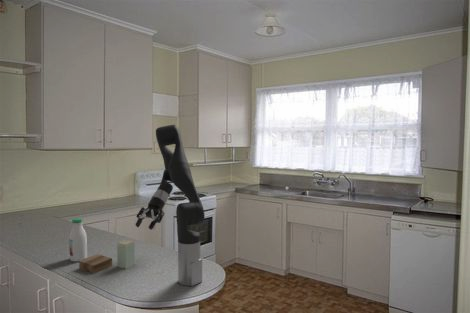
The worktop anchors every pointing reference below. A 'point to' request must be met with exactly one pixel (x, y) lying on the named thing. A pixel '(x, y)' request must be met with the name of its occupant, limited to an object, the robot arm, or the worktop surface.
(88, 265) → the walnut box
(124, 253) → the tea tin
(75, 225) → the milk bottle
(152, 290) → the worktop surface
